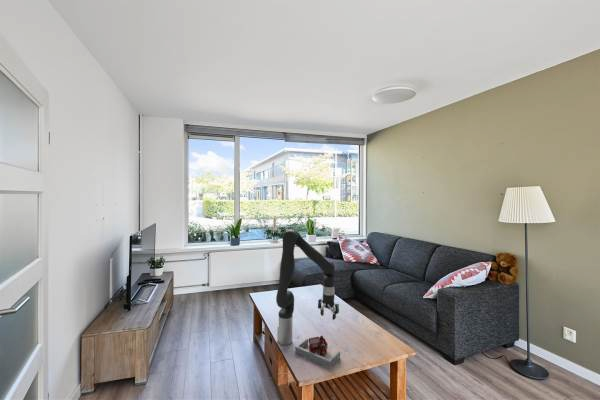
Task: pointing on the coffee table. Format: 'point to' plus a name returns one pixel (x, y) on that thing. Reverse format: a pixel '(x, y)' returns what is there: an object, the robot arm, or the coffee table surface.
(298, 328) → the coffee table surface
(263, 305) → the coffee table surface
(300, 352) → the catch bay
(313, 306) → the coffee table surface
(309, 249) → the robot arm
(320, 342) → the toy fire truck
